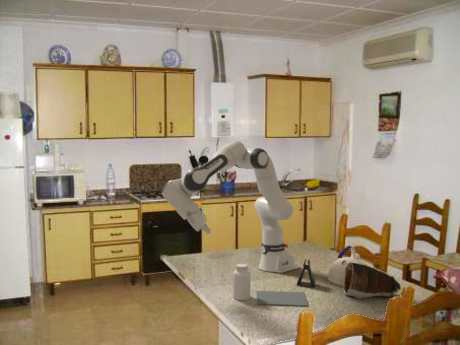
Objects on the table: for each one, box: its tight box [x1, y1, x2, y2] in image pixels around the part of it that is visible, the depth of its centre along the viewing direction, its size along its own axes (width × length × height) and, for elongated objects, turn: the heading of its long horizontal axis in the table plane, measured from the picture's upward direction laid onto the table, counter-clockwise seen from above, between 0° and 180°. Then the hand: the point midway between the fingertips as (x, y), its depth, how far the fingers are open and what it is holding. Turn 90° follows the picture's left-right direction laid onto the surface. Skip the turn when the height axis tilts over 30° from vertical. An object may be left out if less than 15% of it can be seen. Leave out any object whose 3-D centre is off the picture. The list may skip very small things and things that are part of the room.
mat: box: [256, 290, 309, 307], centre depth 208 cm, size 22×16×1 cm
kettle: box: [327, 245, 364, 287], centre depth 236 cm, size 20×21×18 cm
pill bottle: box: [232, 263, 252, 301], centre depth 208 cm, size 8×8×15 cm
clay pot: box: [342, 262, 402, 300], centre depth 214 cm, size 15×15×25 cm
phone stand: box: [296, 259, 317, 288], centre depth 228 cm, size 9×6×12 cm, turn 76°
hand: (209, 232), depth 211 cm, fingers closed
